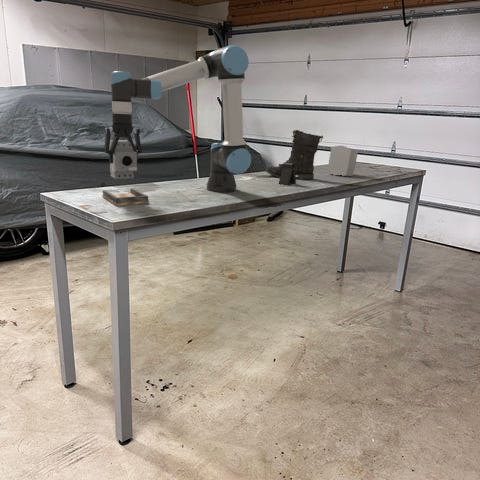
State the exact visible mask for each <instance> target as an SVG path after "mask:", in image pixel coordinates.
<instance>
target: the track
mask: <svg viewBox="0 0 480 480" xmlns="http://www.w3.org/2000/svg"><path fill="white" fill-rule="evenodd" d="M101 197H102V198H103V199H105V200H106V201H108V202H109V203H111V204H112V205H113V206H114V207H119V206H130V205H132V206H133V205H141V204H143V205H144V204H149V203H150V201H149V195H147V194H145V193H144V192H141V191H139V190H137V189H135V188H130V192H128V193H127V192H125V193H124V192H123V193H111V192H110V191H108V190H106V189H105V190H104V189H103V190H102V195H101Z"/></svg>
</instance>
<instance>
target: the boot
mask: <svg viewBox="0 0 480 480" xmlns="http://www.w3.org/2000/svg"><path fill="white" fill-rule="evenodd" d="M292 134H293V135H292V136H291V138H292V141H291V142H292V145H291V150H290V157H288V159H287V160H285V162H287V163H294V164H295V167H294V170H295V176H297V179H298V178H303V179H302V180H305V179H306V180H307V179H310V180H313V178H315V177H314V169H315V167H314V166H315V165H314V163H315V162H314V161H315V157H316V156H315V155H316V154H317V152H318V146H319V144H320V143H321V141H323V139H324V136H323V135H318V134H311V133H306V132H304V131H300V130H299V129H295V130H294V129H293V131H292ZM282 169H283V163H278V166H270V165H269V166H267V168H266V169H265V172H266V173H267V174H269V175H271V176H272V177H273V176H274V177H276V178H280V176H281V173H282Z"/></svg>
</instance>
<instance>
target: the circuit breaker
mask: <svg viewBox="0 0 480 480" xmlns="http://www.w3.org/2000/svg"><path fill="white" fill-rule="evenodd" d="M112 142H113V139H110V146H109V150H110V147H111V145H112ZM113 155H115V163H116V172H114V171H112V163H110V162H109V163H110V164H109V173H110V177H111V178H113V179H114V180H118V179H119V180H122V179H125V180H126V179H134V178H135V177H134V176H135V175H134V172H138V155H137V152H135V151H133V148H132V146H131V143H130V142H129V141H128V140H127V139H119V140H118V143H117V145H116V148H115V151H114V154H113Z"/></svg>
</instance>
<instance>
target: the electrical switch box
mask: <svg viewBox="0 0 480 480" xmlns="http://www.w3.org/2000/svg"><path fill="white" fill-rule="evenodd" d="M357 159H358V150H357V149H354V148H350V147H347V146H344V145H335V146H331V148H330V153H329V160H328V165H327V170H326V173H328V174H329V175H332V174H335V175H342V176H341V177H344V176H346V177H351V176H350V175H352V176H353V175H354V173H355V169H356V168H355V167H356V163H357Z"/></svg>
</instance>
